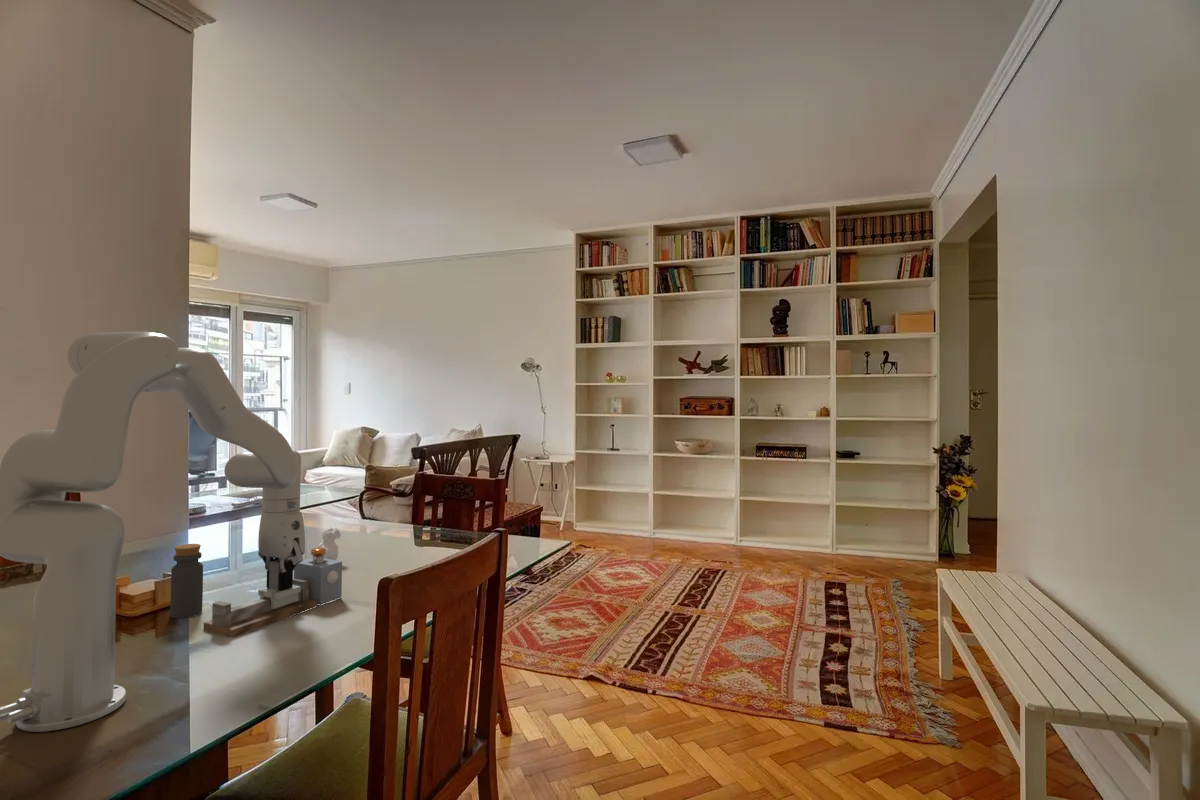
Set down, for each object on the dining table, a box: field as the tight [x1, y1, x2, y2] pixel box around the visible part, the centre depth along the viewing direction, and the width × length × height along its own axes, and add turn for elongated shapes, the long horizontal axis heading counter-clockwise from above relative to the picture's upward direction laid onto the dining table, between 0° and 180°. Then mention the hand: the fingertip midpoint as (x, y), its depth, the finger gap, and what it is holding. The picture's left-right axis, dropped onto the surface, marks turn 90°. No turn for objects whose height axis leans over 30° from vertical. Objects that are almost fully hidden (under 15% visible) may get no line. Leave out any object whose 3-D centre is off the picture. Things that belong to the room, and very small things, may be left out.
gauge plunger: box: [310, 547, 326, 564], centre depth 144 cm, size 3×3×6 cm
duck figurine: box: [316, 526, 342, 560], centre depth 177 cm, size 12×8×11 cm
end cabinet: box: [293, 557, 343, 605], centre depth 144 cm, size 6×9×9 cm, turn 65°
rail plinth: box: [203, 578, 317, 638], centre depth 132 cm, size 20×9×6 cm, turn 155°
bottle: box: [169, 543, 204, 619], centre depth 133 cm, size 6×6×15 cm
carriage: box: [257, 559, 301, 608], centre depth 135 cm, size 6×6×9 cm
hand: (279, 587), depth 135 cm, fingers closed on carriage, 3 cm apart
